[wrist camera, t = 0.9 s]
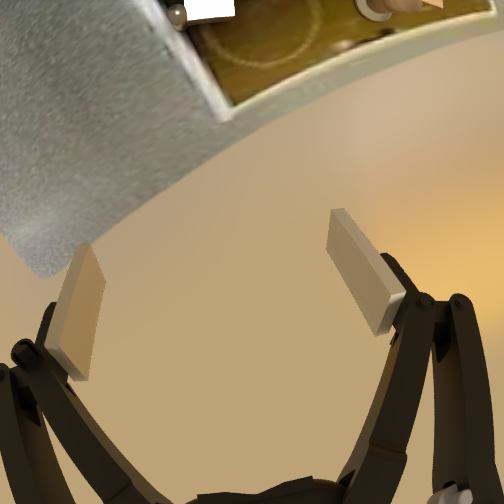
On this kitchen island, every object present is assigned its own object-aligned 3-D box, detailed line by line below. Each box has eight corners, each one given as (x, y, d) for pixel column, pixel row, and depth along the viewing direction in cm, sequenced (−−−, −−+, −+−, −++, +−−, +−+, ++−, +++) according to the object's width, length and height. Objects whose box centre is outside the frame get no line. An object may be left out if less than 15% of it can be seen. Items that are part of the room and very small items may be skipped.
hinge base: (352, -19, 27) (355, -20, 26) (388, -11, 28) (392, -12, 27) (354, 18, 31) (358, 18, 30) (390, 24, 31) (394, 24, 30)
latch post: (172, 11, 27) (164, -6, 19) (226, 4, 28) (239, -14, 19) (174, 32, 29) (167, 23, 21) (228, 25, 30) (242, 14, 21)
